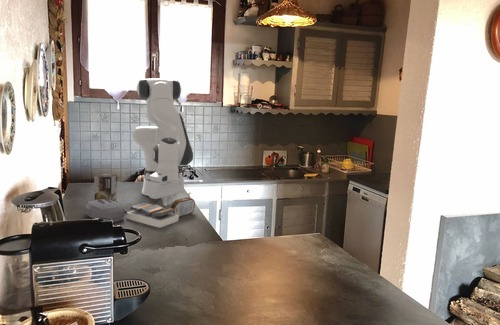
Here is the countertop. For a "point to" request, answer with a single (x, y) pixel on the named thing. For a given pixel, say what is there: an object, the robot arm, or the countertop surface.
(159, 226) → the white rectangular tray
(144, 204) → the rocker
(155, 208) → the rocker
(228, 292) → the countertop surface
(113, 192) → the coffee box
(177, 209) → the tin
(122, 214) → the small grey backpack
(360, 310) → the countertop surface
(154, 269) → the countertop surface
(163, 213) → the flat block
